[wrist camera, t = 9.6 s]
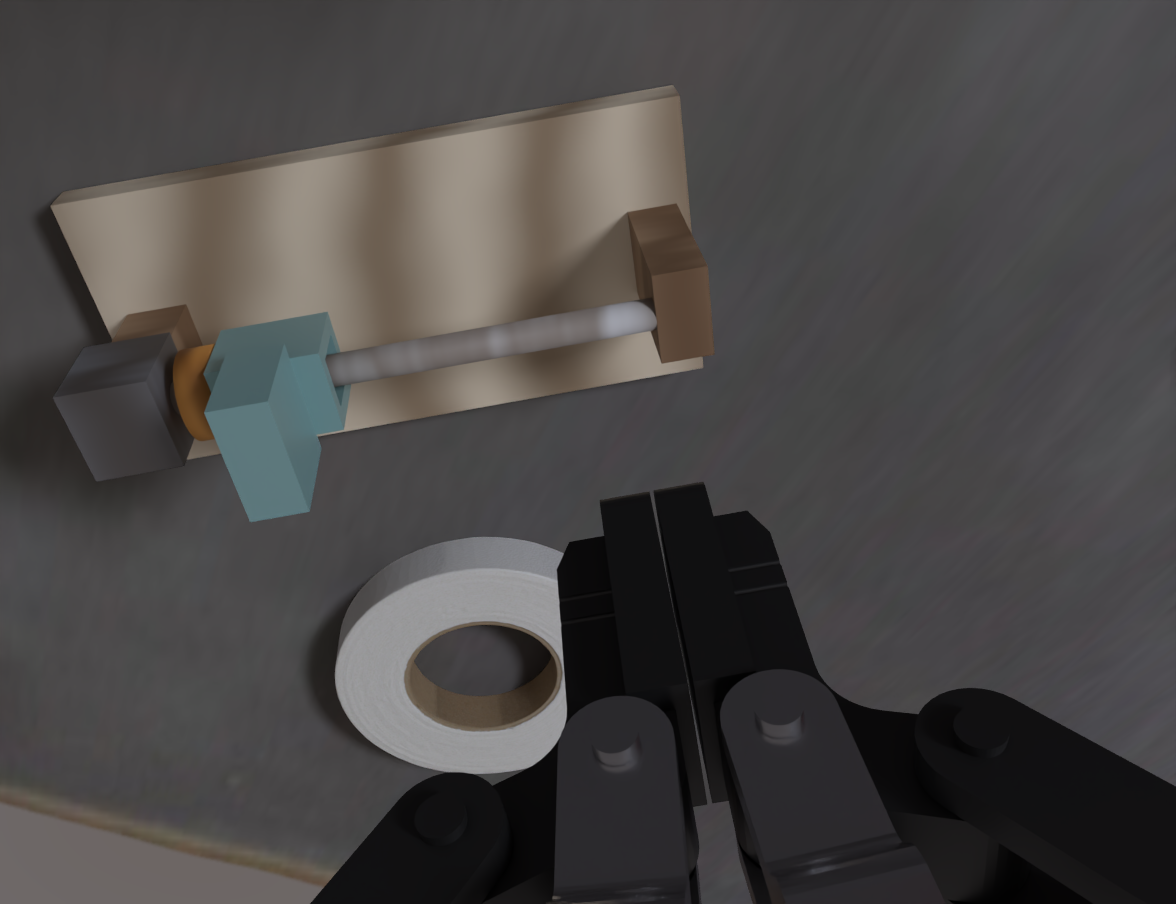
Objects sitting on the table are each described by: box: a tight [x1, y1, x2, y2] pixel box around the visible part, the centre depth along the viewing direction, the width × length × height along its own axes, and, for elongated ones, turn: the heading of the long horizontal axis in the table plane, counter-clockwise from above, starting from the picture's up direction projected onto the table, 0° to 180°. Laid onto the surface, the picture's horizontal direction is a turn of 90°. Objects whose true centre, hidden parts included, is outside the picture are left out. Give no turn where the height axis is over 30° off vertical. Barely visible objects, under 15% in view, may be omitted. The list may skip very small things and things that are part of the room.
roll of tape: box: [335, 537, 567, 774], centre depth 55 cm, size 16×15×3 cm
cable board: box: [51, 85, 714, 482], centre depth 40 cm, size 24×12×9 cm, turn 98°
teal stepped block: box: [204, 312, 351, 522], centre depth 36 cm, size 4×4×7 cm
